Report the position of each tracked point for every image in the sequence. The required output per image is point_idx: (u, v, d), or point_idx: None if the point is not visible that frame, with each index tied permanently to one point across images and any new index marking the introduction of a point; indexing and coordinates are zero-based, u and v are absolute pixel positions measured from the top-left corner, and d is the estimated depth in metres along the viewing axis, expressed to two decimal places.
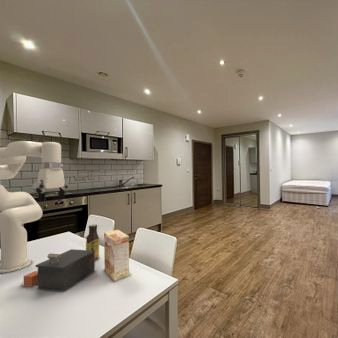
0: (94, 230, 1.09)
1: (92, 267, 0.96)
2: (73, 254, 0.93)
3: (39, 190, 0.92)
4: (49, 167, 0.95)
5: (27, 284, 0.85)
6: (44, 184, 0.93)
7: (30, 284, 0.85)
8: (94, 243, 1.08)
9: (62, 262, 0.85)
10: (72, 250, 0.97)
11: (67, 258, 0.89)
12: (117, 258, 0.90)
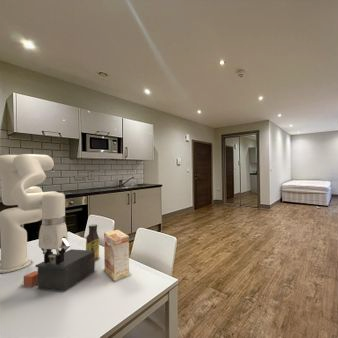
0: (94, 230, 1.09)
1: (92, 267, 0.96)
2: (73, 254, 0.93)
3: None
4: (64, 221, 0.86)
5: (27, 284, 0.85)
6: None
7: (30, 284, 0.85)
8: (93, 243, 1.08)
9: (62, 262, 0.85)
10: (72, 250, 0.97)
11: (67, 258, 0.89)
12: (117, 258, 0.90)
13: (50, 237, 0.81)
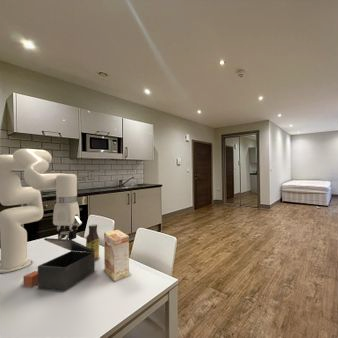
0: (94, 230, 1.09)
1: (92, 267, 0.96)
2: None
3: None
4: (76, 200, 0.92)
5: (27, 284, 0.85)
6: None
7: (30, 284, 0.85)
8: (93, 243, 1.08)
9: None
10: None
11: None
12: (117, 258, 0.90)
13: (63, 214, 0.87)
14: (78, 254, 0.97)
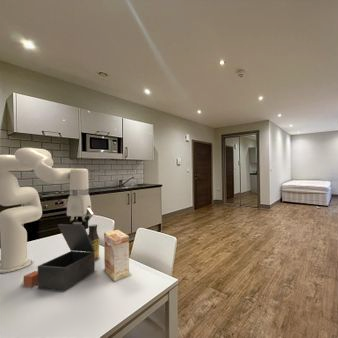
0: (94, 230, 1.09)
1: (92, 267, 0.96)
2: None
3: None
4: (88, 193, 0.98)
5: (27, 284, 0.85)
6: None
7: (30, 284, 0.85)
8: (93, 243, 1.08)
9: None
10: None
11: None
12: (117, 258, 0.90)
13: (77, 206, 0.93)
14: (78, 254, 0.97)
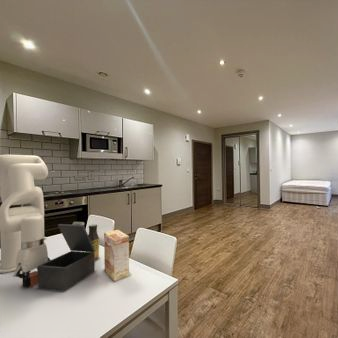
0: (94, 230, 1.09)
1: (92, 267, 0.96)
2: None
3: (23, 276, 0.83)
4: (29, 247, 0.84)
5: None
6: (24, 270, 0.83)
7: (30, 284, 0.85)
8: (93, 243, 1.08)
9: None
10: None
11: None
12: (117, 258, 0.90)
13: None
14: (78, 254, 0.97)
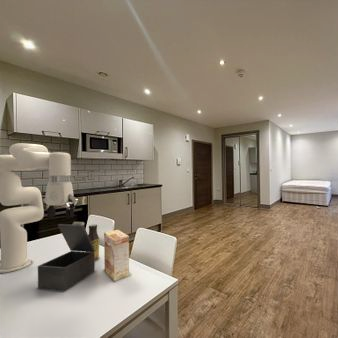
0: (94, 230, 1.09)
1: (92, 267, 0.96)
2: None
3: None
4: (70, 180, 0.88)
5: None
6: None
7: None
8: (93, 243, 1.08)
9: None
10: None
11: None
12: (117, 258, 0.90)
13: (56, 194, 0.84)
14: (78, 254, 0.97)
